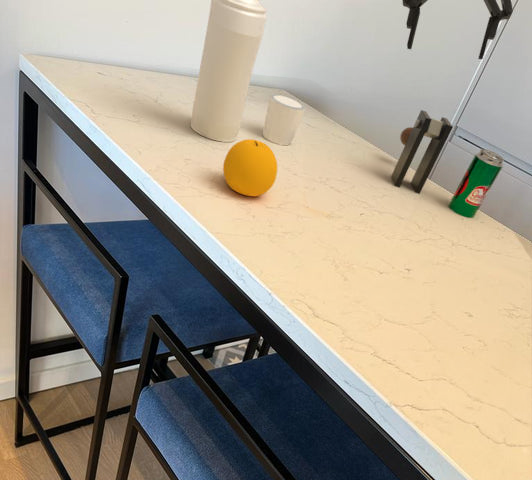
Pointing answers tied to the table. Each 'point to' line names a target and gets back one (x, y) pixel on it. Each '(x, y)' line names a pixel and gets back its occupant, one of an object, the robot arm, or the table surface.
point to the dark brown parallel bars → (429, 156)
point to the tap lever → (431, 132)
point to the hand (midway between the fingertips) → (444, 52)
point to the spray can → (227, 67)
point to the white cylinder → (282, 119)
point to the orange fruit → (250, 168)
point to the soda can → (476, 183)
